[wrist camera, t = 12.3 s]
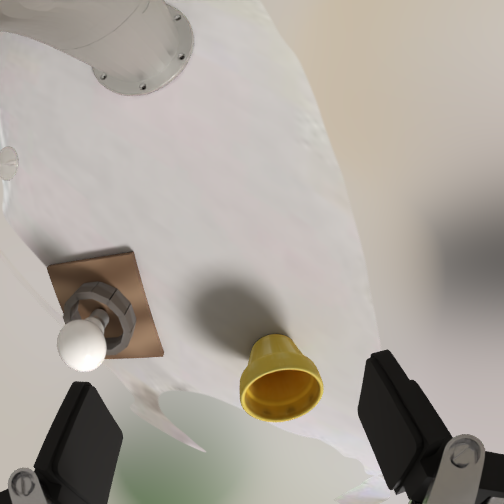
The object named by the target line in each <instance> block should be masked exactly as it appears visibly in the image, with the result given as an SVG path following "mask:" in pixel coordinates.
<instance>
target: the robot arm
mask: <svg viewBox="0 0 504 504" xmlns="http://www.w3.org/2000/svg"><path fill="white" fill-rule="evenodd" d="M178 19H180V20H178ZM177 20H178V21H177ZM0 32H9V33H15V34H19V35H22V36H26V37H29V38H31V39H34V40H37V41H39V42H42V43H44V44H46V45H49V46H51V47H53V48H55V49H57V50H59V51H61V52H64V53H66V54H68V55H70V56H72V57H74V58H76V59H78V60H80V61H82V62H84V63H86V64H88V65H90V66H92V67H93V71H94V74H95V76H96V78H97V79H98V81H99V82H100V83H101V84H102V85H103V86H104V87H105V88H107V89H109V90H110V91H112V92H115V93H117V94H120V95H126V96H139V95H144V94H149V93H151V92H154V91H157V90H159V89H160V88H162V87H164V86H166V85H167V84H169V83H170V82H171V81H172V80H174V79H175V78H176V77H177V76H178V75H179V74H180V73H181V72H182V70H183V69H184V67H185V66H186V64H187V63H188V61H189V58H190V56H191V54H192V50H193V45H194V36H193V32H192V28H191V25H190V23H189V21H188V20H187V18H186V17H185V15H183V14H182V13H181V12H180V11H179V10H177V9H176V8H174V7H172V6H169V5H166V4H165V2H164V0H0ZM181 57H184V59H183V60H181V59H180V58H181ZM106 76H107V77H106ZM105 77H106V79H105ZM144 86H146V89H145V90H143V87H144ZM358 416H359V418H360V421H361V423H362V426H363V428H364V430H365V433H366V435H367V437H368V440H369V442H370V444H371V447H372V449H373V452H374V454H375V457H376V459H377V461H378V464H379V466H380V469H381V471H382V474H383V476H384V479H385V481H386V484H387V486H388V488H389V489H390V490H393V489H394V491H395V493H396V495H397V494H400V493H402V492H405V491H406V493H407V496H408V498H409V499H410V501H409V503H408V504H504V454H498V453H492V452H487V451H485V448H484V445H483V444H482V442H481V441H480V440H479V439H478V438H476V437H475V436H472V435H469V434H467V435H466V434H462V435H459V436H456V437H454V438H453V437H452V436H451V434H450V433H449V431H448V430H447V428H446V426H445V425H444V423H443V421H442V420H441V418H440V417H439V415H438V414H437V412H436V411H435V409H434V408H433V406H432V404H431V403H430V401H429V400H428V398H427V397H426V395H425V394H424V392H423V391H422V389H421V388H420V386H419V385H418V384H417V383H416V381H414V380H409V379H408V377H407V375H406V374H405V372H404V371H403V369H402V368H401V367H400V365H399V364H398V362H397V361H396V359H395V358H394V356H393V355H392V354H391V352H390V351H389V350H384V351H380V352H376V353H372V354H371V357H370V358H369V359H367V360H366V365H365V372H364V378H363V383H362V389H361V394H360V400H359V405H358ZM122 440H123V434H122V431H121V429H120V428H119V426H118V425H117V423H116V422H115V420H114V419H113V417H112V415H111V414H110V412H109V410H108V409H107V407H106V405H105V404H104V402H103V400H102V399H101V397H100V395H99V394H98V392H97V390H96V388H95V387H93V386H92V385H91V384H90V383H89V382H77V381H76V382H73V383H72V385H71V387H70V389H69V391H68V393H67V395H66V397H65V399H64V401H63V403H62V405H61V407H60V409H59V411H58V413H57V415H56V417H55V419H54V421H53V423H52V425H51V428H50V430H49V432H48V434H47V436H46V439H45V441H44V443H43V445H42V448H41V450H40V452H39V455H38V457H37V459H36V462H35V464H34V468H35V471H34V472H33V471H32V470H31V469H28V468H20V469H17V470H16V471H14V472H13V473H12V474H11V476H10V478H9V481H8V489H7V490H4V491H2V492H0V504H107V502H108V497H109V492H110V489H111V484H112V480H113V476H114V471H115V468H116V463H117V459H118V456H119V452H120V447H121V444H122Z"/></svg>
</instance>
